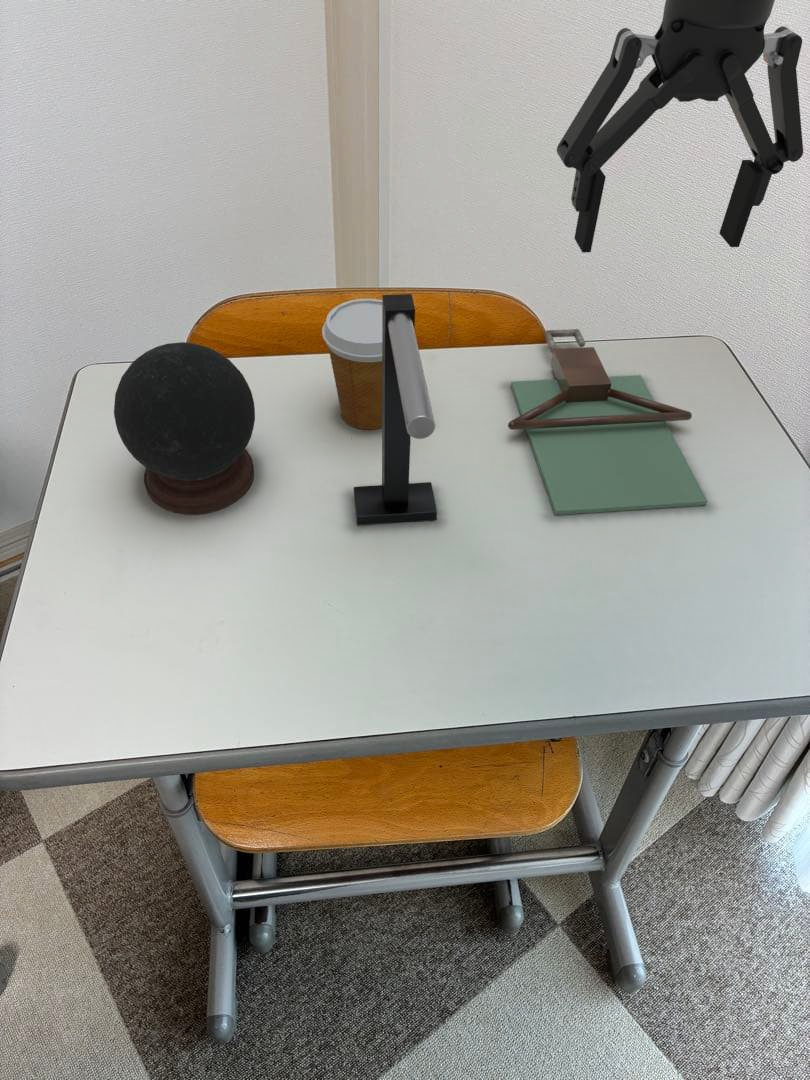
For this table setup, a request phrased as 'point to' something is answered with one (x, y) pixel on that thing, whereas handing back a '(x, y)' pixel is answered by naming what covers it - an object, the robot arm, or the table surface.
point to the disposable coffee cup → (357, 360)
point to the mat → (607, 454)
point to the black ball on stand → (187, 426)
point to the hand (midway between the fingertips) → (656, 243)
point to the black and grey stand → (399, 423)
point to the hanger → (588, 390)
